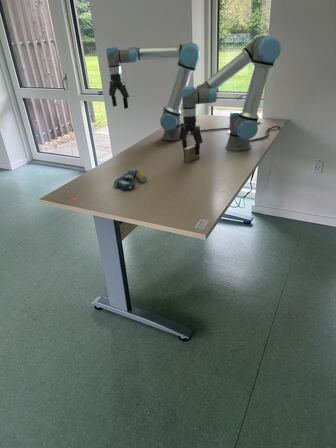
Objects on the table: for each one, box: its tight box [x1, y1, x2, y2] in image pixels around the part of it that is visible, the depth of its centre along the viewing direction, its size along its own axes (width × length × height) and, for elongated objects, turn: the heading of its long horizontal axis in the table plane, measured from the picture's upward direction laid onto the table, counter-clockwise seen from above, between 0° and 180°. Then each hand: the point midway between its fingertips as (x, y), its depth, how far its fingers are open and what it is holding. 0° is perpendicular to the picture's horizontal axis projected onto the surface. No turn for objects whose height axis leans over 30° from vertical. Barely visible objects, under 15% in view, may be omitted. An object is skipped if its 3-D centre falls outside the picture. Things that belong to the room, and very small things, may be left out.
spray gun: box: [112, 168, 148, 191], centre depth 183 cm, size 21×4×15 cm
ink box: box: [183, 143, 200, 163], centre depth 205 cm, size 10×4×8 cm, turn 131°
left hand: (120, 107), depth 229 cm, fingers open, 13 cm apart
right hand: (191, 152), depth 205 cm, fingers open, 10 cm apart
